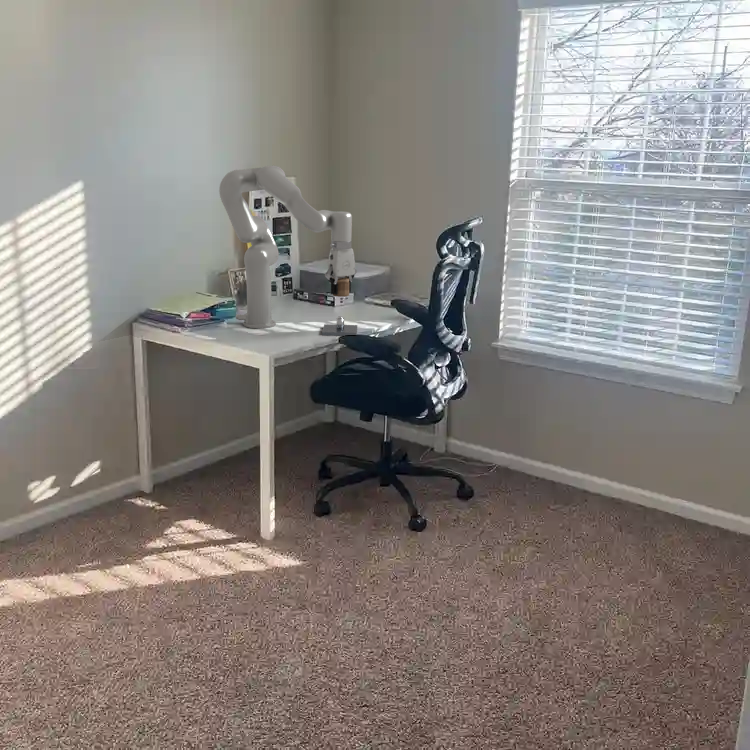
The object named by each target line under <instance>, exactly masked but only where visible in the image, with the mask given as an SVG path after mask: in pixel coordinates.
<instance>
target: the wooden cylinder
mask: <svg viewBox="0 0 750 750" xmlns="http://www.w3.org/2000/svg"><path fill="white" fill-rule="evenodd" d="M334 279H335V277H334ZM337 284H338V294H337V295H335V294H332V296H333V297H339V298H340V297H341V298H344V297H345V298H346V297H349V296H350V293H349V279H348V278H347V277H338V280H337Z"/></svg>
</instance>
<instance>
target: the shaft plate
mask: <svg viewBox="0 0 750 750" xmlns="http://www.w3.org/2000/svg"><path fill="white" fill-rule="evenodd" d="M321 333H322V334H321V335H322V336H335V337H336V336H337V337H339V336H341V337H343V336H344V337H346V336H345V335H358V324H345V317H343V316H341V315H340V316H338V317H337V318H336V324H329V323H328V324H323V328H322V332H321Z"/></svg>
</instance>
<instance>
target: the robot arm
mask: <svg viewBox="0 0 750 750" xmlns="http://www.w3.org/2000/svg"><path fill="white" fill-rule="evenodd" d="M254 191H255V192H256V191H265V192H266V193H268V194H269V195H270V196H272V197H273V199H275V200H277V201H278V202H279V203H280V204H282V205H283V206H285V208H286V210H287V211H288V212H289V213H290V214H291V216H293V218H294V219H295V220H296V221H298V222H299V223H300V224H301V225H303V226H304V227H306V229H308V230H309V231H311V232H313V233H322V232H325V231H329V230H330V231H331V234H330V235H331V237H330V238H331V240H330V242H331V243H330V244H329V247H330V250H329V255H328V265H327V266H328V269H327V270H326V272H325V273H324V276H325V278H326V279H327V280H328V282H329V284H330V293H331V295H333V294H335V295H337V294H338V284H337V280H338V278H344V277H347V278H348V279H349V294H350V293H351V292H352V291H351V290H352V282H353V279H354V278H355V275H356V274H357V273H358V270H357V269H356V261H355V253H354V249H353V248H352V241H353V240H352V229H353V225H352V223H353V215H352V214H351V212H350V211H335V210H334V211H333V210H327V209H321V210H317V209H316V208H314V207H313V206H311V205H310V204H309V202H307V201H306V200H305V199H304V197H303V194H302V192H301V189H300V187H298V186H297V185H296V184H295V183H293V182H292V181H291V180H289V179H288V178H287V177H286V172H285V171H284V170H283V169H282V168H281V166H277V165H265V166H262V167H255V168H244V169H234V170H231V171H230V172H227V173H226V174H225V175H224V176H223V178H222V179H221V181H220V184H219V190H218V192H219V198H220V200H221V202H222V205H223V207H224V209H225V211H226V213H227V216H228V218H229V221H230V223H231V226H232V228H233V230H234V233H235V234H236V237H237V238H238V240H239V241H240V242H241V243H244V244H245V243H246V244H251V246H249V247H248V248H247V250H246V251H245V253H244V256H243V257H244V258H243V261H244V262H243V263H244V269H245V279H246V313H244V314H240V313H239V314H237V313H236V315H235V319H236V320H238V321H243V322H242V323H243V326H244V327H245V328H248V329H249V328H250V329H268V328H273V327H275V326H276V325H277V323H276V321H275V320H273V319H272V317H273V316H272V314H273V313H272V309H273V308H272V275H271V269H270V266H272V265H274V264H276V262H277V261H278V259H279V249H278V246H277V243H276V241H275V239H274V237H273V234H272V232H271V229H270V227H269V224H267V222H266V221H265V220H264V219H263V218H262V217H260V216H258V215H253V213H252V211H251V209H250V207H249V204H248V203H247V201H246V200H245V198H244V197H243V193H247V192H254ZM334 278H335V279H334Z"/></svg>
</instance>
